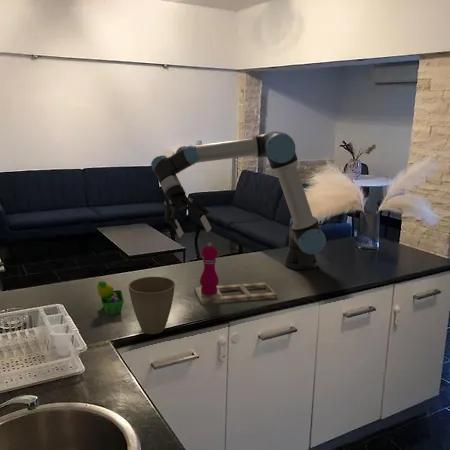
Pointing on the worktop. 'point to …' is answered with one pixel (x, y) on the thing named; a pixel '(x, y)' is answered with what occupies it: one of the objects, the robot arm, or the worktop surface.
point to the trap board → (242, 287)
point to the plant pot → (152, 302)
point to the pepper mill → (209, 271)
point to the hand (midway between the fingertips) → (195, 232)
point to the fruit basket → (110, 298)
